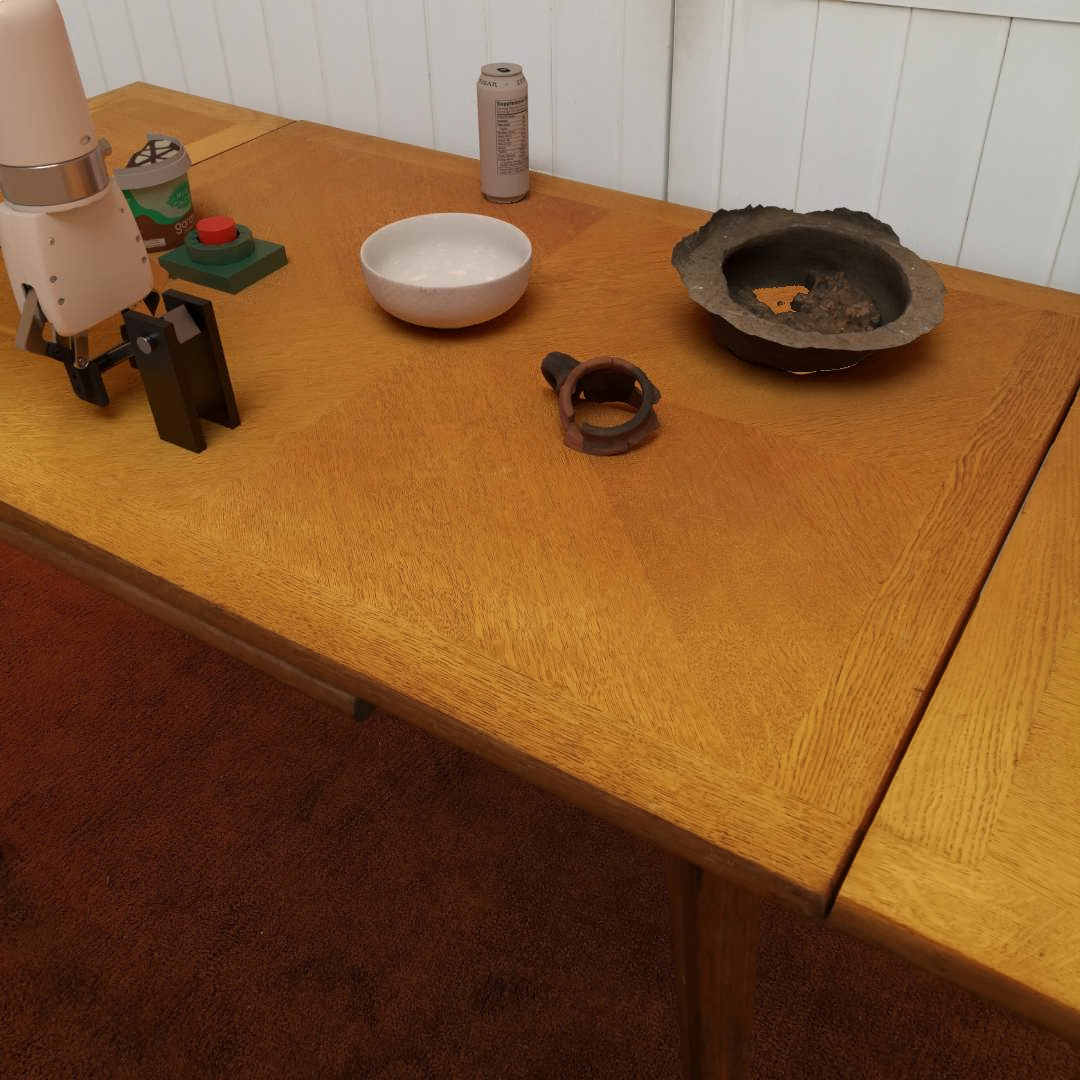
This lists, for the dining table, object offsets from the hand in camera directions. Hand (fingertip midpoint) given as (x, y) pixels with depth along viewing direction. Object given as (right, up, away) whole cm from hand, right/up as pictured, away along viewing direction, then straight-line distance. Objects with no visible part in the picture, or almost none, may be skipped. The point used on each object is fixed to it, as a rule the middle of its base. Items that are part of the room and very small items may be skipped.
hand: (120, 384), depth 86 cm
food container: (-6, +22, +31) cm, 39 cm away
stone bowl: (+61, +6, +12) cm, 63 cm away
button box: (+1, +16, +24) cm, 29 cm away
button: (+1, +19, +22) cm, 29 cm away
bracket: (+8, -5, -1) cm, 9 cm away
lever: (+4, +2, -5) cm, 7 cm away
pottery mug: (+41, -4, 0) cm, 41 cm away
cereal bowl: (+27, +10, +17) cm, 33 cm away
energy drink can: (+32, +30, +40) cm, 59 cm away
